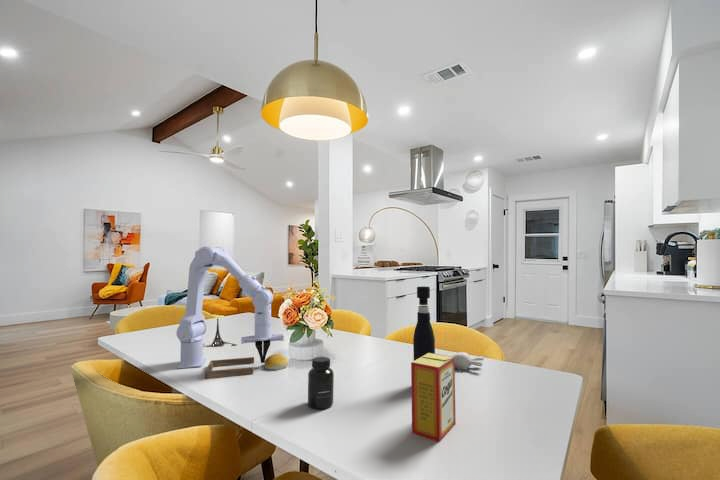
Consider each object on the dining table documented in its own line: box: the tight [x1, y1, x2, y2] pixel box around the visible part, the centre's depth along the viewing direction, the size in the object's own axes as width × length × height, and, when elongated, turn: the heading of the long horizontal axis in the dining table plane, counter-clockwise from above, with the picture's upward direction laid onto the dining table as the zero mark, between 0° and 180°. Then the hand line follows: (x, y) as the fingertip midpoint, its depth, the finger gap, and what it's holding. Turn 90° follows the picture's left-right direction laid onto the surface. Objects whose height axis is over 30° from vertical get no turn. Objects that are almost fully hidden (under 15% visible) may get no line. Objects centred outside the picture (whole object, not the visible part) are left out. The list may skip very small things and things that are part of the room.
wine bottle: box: [412, 285, 436, 361], centre depth 105 cm, size 6×6×30 cm
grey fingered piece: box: [444, 351, 485, 371], centre depth 121 cm, size 10×5×15 cm
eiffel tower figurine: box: [209, 318, 237, 348], centre depth 154 cm, size 15×10×13 cm
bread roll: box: [264, 353, 290, 371], centre depth 124 cm, size 8×9×4 cm
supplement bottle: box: [307, 356, 335, 410], centre depth 93 cm, size 7×7×12 cm
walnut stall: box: [204, 356, 255, 380], centre depth 121 cm, size 13×15×2 cm
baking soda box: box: [410, 353, 457, 443], centre depth 80 cm, size 10×6×16 cm
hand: (262, 362), depth 123 cm, fingers closed
